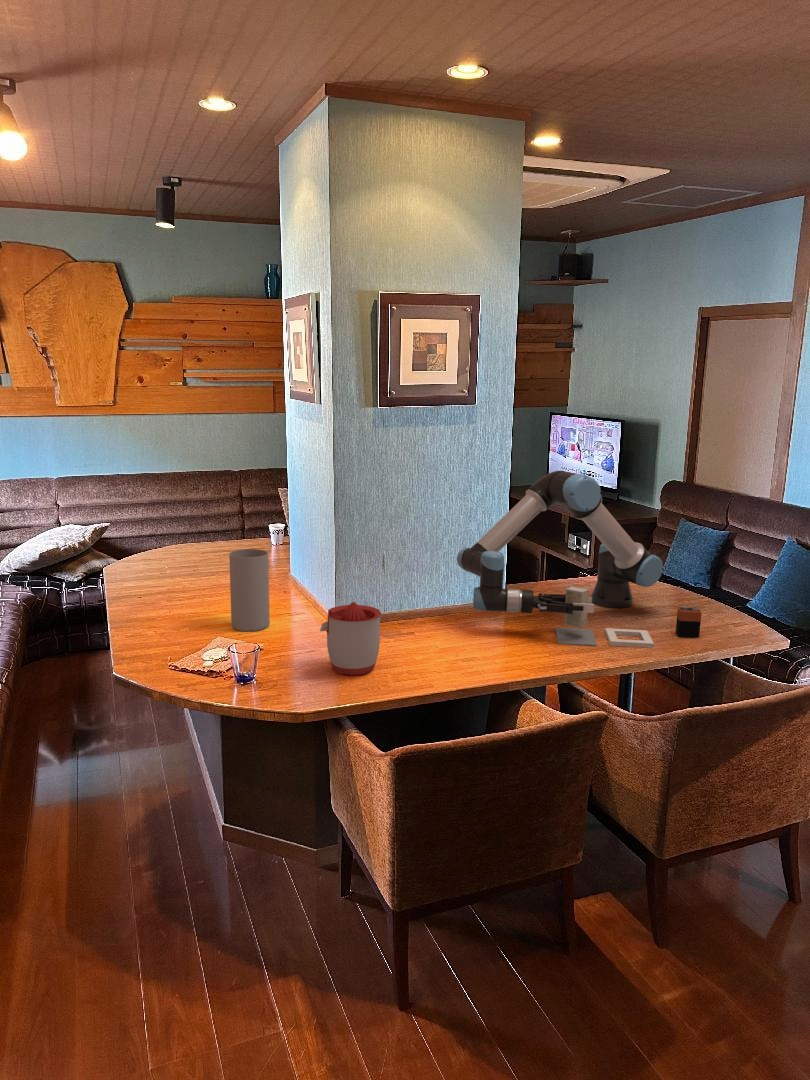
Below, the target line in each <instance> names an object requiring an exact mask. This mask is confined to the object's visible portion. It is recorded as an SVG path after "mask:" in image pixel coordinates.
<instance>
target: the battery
mask: <svg viewBox="0 0 810 1080" xmlns="http://www.w3.org/2000/svg"><path fill="white" fill-rule="evenodd" d="M701 620H702V611H701V610H700V609H699V608H698V606H693V607H689V606H687V605H681V606H679V607H678V608H677V612H676V624H675V634H676V635H677V636H678V638H688V639H689V638H693V639H694V638H695V639H697V638H699V639H700V631H701V623H702V622H701Z"/></svg>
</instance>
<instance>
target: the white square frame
mask: <svg viewBox="0 0 810 1080" xmlns="http://www.w3.org/2000/svg"><path fill="white" fill-rule="evenodd" d="M604 629H605V630H604V633H605V635H606V638H608V639H607V641H608V644H609V643H610V644H609V645H610V647H623V646H631V647H630V648H642V647H644V648H645V649H654V648H655V642H654V641H653V639H652V637H651V635H650V634H649V631H648V630H645V629H626V628H611V627H605V628H604ZM617 635H621V636H622V637H636V636H637V637H639V638H640V640H639V639H623V638H622V639H621V638H620V639H619V638H618V636H617ZM637 637H636V638H637ZM644 648H643V649H644Z"/></svg>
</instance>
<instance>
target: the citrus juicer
mask: <svg viewBox="0 0 810 1080" xmlns="http://www.w3.org/2000/svg"><path fill="white" fill-rule="evenodd" d="M381 615H382V612H381V610H380V609H379V608H377V607H374V606H370V605H363V604H358V603H357V602H356V601H354V602H353V601H352V602H350V603H349V604H346V605H338V606H333V607H330V608H329V609H328V611H327V621H325V622H323V623H322V624H321V626H320V628H319V632H325V631H326V642H327V643H326V647H327V653H328V658H329V660H330V665H331V668H332V669H333V671H335V672H336V673H338V674H339V675H347V676H349V675H351V676H358V675H359V676H360V675H365V674H368V673H370V672H372V671H373V670H374V668H375V667H376V663H377V659H378V657H379V650H380V643H381V640H380V639H381V636H380V635H381Z"/></svg>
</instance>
